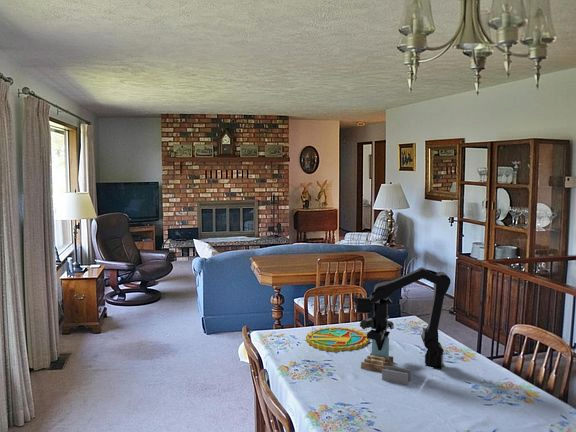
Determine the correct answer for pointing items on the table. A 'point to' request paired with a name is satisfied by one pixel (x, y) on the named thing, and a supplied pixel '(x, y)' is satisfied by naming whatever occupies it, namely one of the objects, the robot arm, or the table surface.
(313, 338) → the decorative plaque
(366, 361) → the rack
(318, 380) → the table surface
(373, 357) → the offcut front
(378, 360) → the offcut small
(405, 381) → the holder
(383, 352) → the tall sheet
